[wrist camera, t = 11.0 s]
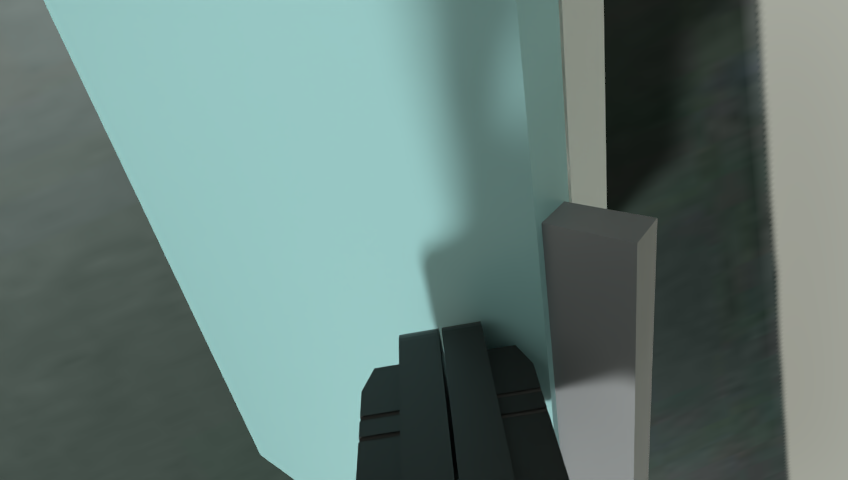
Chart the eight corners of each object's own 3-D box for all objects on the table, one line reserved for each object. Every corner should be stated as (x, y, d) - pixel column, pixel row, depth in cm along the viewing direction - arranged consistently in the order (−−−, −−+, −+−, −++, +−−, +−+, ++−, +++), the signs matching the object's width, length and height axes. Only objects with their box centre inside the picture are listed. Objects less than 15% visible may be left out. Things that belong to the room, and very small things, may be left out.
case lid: (-9, -213, 13) (-58, -212, 13) (702, -843, 4) (644, -960, 3) (278, 438, 25) (260, 454, 24) (642, 683, 15) (627, 722, 15)
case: (137, -167, 21) (8, -203, 14) (527, -251, 20) (598, -333, 13) (307, 315, 32) (283, 430, 25) (561, 272, 31) (609, 378, 24)
